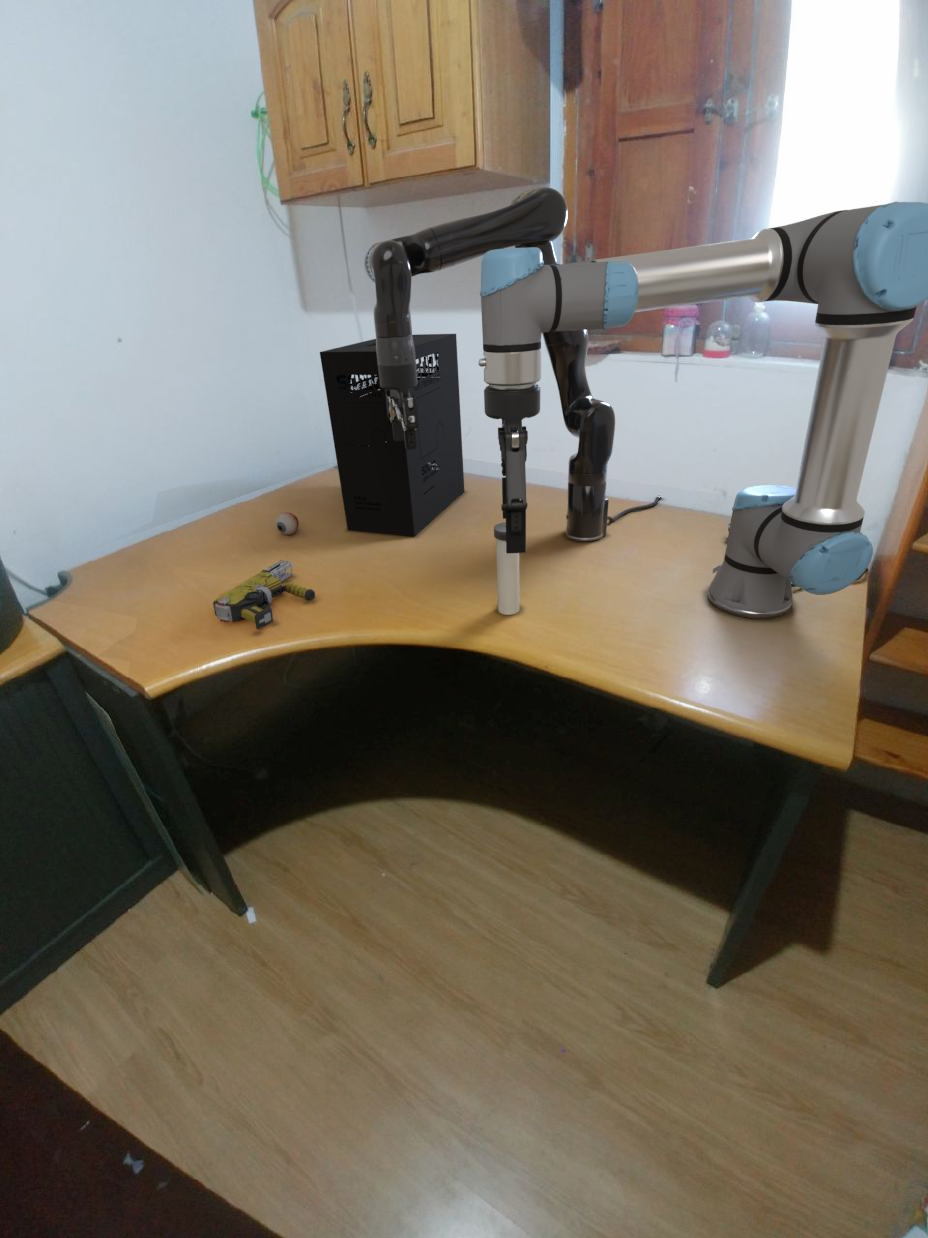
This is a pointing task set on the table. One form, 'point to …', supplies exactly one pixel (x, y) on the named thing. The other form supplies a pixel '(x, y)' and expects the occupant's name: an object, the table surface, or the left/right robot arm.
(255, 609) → the toy gun
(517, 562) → the white long cylinder
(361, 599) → the table surface
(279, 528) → the eyeball
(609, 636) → the table surface
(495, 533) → the lid
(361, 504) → the cardboard box
